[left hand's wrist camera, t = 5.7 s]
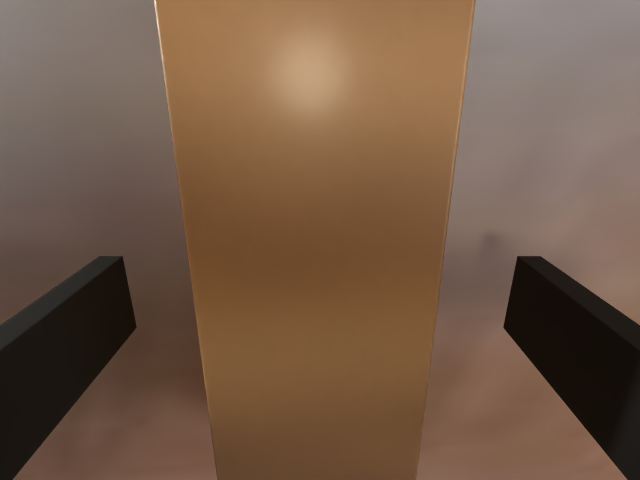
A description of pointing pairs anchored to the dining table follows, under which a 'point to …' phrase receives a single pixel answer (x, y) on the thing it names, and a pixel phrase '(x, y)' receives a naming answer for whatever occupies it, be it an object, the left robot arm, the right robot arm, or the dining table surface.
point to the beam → (315, 220)
